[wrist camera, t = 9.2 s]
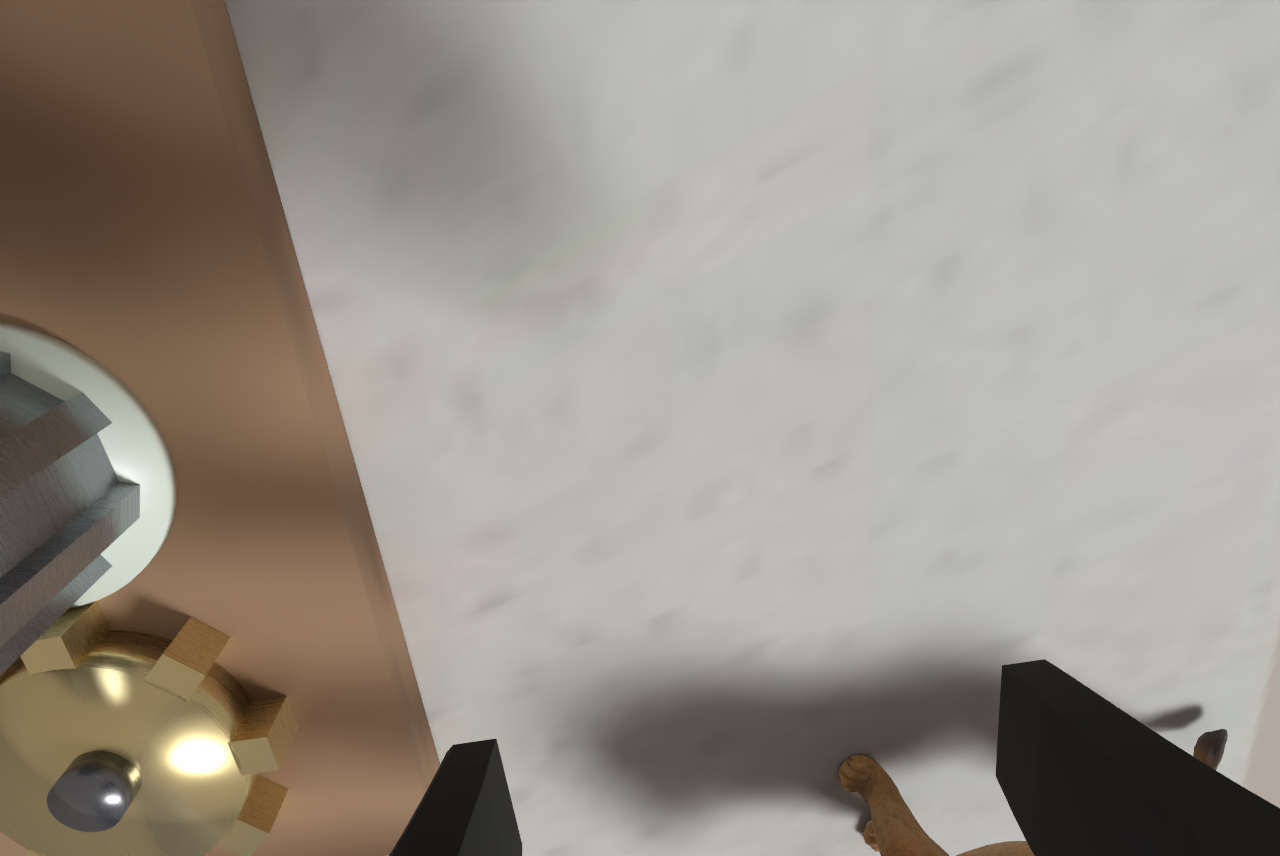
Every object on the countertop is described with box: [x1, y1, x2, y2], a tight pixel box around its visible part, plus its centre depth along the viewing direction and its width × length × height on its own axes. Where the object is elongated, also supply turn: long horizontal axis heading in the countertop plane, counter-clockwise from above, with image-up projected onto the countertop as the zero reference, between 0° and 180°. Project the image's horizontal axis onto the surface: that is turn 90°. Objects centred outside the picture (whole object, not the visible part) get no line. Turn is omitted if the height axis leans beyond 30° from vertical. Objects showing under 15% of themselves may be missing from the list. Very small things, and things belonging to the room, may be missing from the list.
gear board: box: [0, 0, 440, 856], centre depth 17 cm, size 23×13×4 cm, turn 7°
